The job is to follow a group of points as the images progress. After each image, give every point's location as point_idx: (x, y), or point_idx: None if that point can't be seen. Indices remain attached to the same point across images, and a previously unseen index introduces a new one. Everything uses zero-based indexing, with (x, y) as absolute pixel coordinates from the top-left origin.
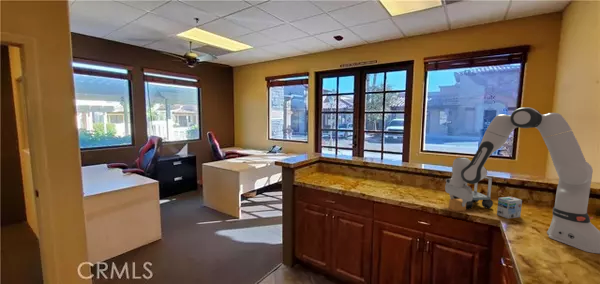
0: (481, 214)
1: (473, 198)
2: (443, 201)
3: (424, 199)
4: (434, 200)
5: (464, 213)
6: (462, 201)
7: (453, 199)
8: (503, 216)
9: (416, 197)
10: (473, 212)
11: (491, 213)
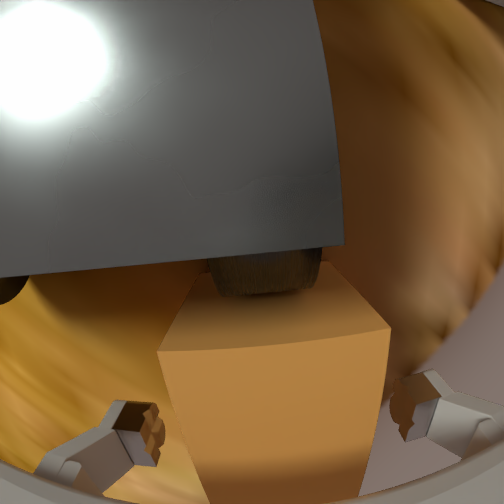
0: (469, 147)
1: (303, 2)
2: (13, 341)
3: (31, 452)
4: (19, 403)
5: (423, 346)
6: (377, 418)
7: (237, 496)
8: (495, 1)
9: (15, 463)
10: (415, 201)
11: (423, 3)
